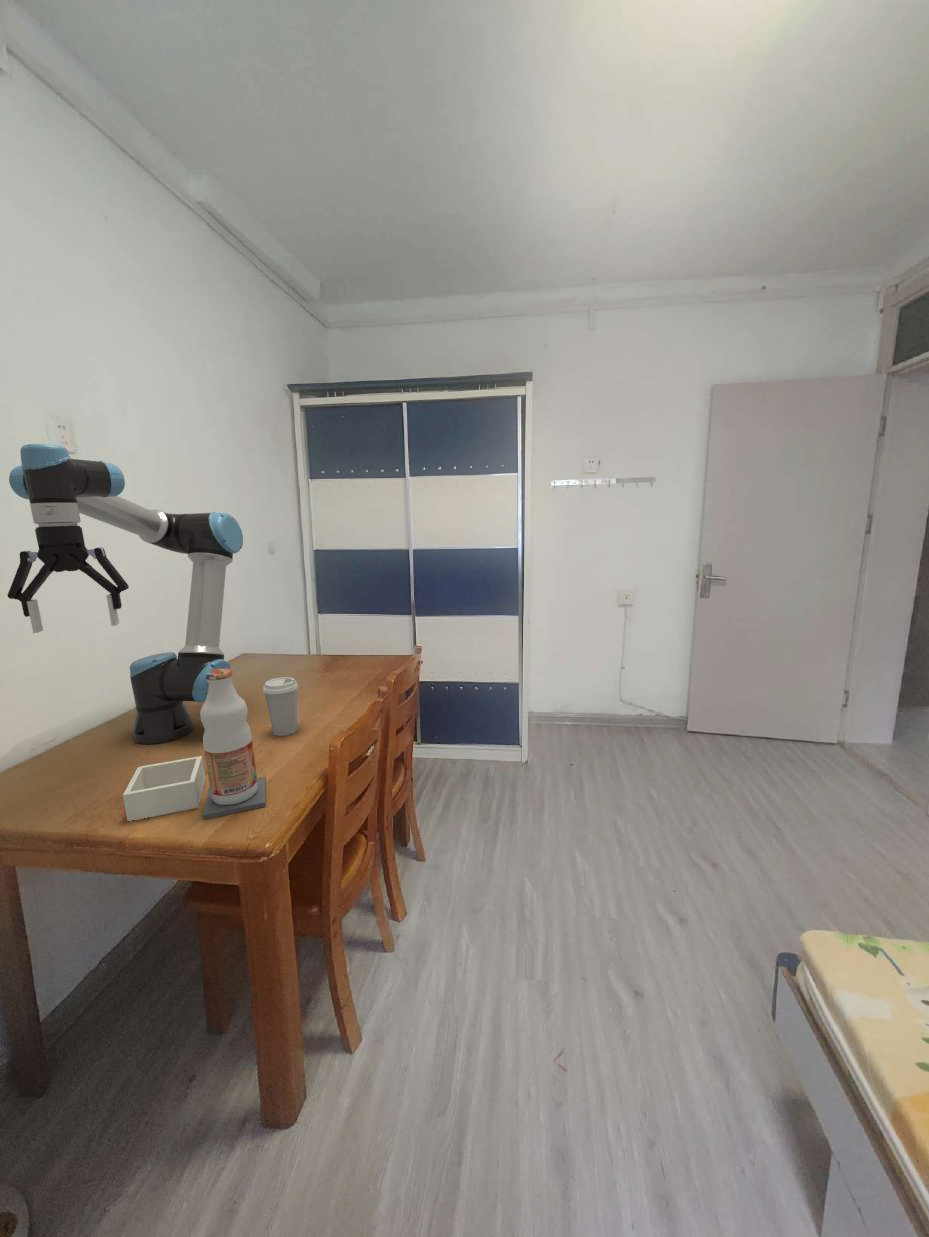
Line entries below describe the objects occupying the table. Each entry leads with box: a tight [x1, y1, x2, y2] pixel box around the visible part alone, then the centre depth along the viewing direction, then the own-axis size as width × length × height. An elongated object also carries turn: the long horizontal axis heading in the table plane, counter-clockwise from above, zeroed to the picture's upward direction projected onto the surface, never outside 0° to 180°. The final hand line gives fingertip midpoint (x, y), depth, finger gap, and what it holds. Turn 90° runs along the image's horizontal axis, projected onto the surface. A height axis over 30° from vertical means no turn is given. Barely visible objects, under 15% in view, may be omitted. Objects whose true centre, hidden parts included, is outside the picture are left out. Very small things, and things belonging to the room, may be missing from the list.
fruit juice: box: [199, 669, 258, 805], centre depth 109 cm, size 9×9×28 cm
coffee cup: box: [262, 676, 299, 737], centre depth 146 cm, size 10×10×15 cm
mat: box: [201, 775, 267, 821], centre depth 112 cm, size 12×12×1 cm
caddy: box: [122, 755, 206, 822], centre depth 113 cm, size 13×13×6 cm
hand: (77, 628), depth 108 cm, fingers open, 13 cm apart
